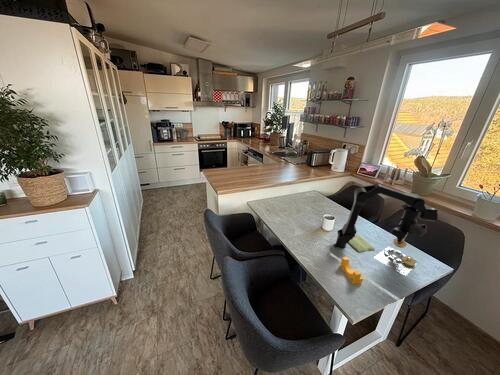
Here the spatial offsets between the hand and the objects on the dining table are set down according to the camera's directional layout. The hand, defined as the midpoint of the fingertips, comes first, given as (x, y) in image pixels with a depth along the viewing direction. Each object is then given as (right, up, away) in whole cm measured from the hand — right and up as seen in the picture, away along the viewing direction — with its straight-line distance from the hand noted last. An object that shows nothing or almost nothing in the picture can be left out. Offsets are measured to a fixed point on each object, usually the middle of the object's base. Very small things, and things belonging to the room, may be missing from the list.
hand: (400, 241), depth 112 cm
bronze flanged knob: (0, -2, +1) cm, 2 cm away
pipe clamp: (-32, -16, -7) cm, 36 cm away
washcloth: (-17, -6, +16) cm, 24 cm away
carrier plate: (-1, -12, +2) cm, 12 cm away
